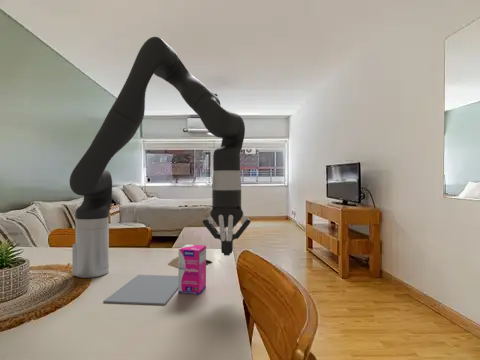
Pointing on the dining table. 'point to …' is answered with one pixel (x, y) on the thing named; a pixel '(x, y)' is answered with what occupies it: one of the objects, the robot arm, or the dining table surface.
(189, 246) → the supplement box
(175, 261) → the clay tablet
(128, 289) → the rubber mat
